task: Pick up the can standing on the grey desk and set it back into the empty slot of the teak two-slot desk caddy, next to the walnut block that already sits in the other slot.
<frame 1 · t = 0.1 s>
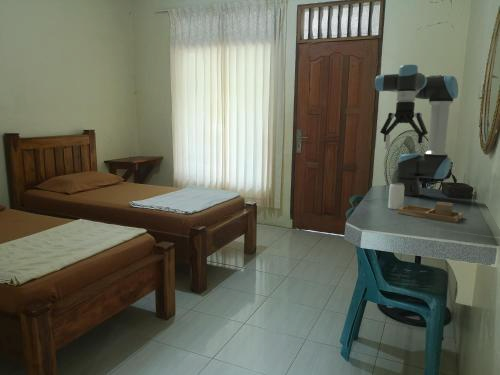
hand: (401, 150, 173), 28 cm above the table, fingers open, 13 cm apart
walnut block: (443, 217, 163), point 1 cm above the table, touching caddy
caddy: (429, 216, 167), on the table
can: (395, 209, 182), on the table
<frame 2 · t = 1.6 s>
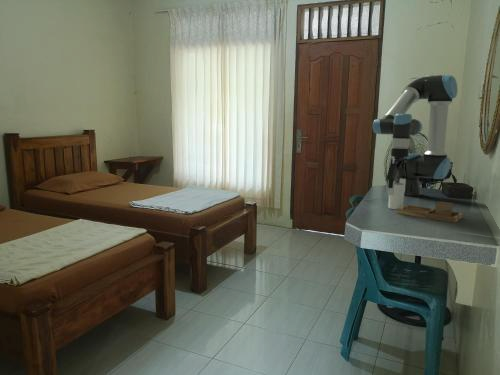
hand: (396, 193, 181), 7 cm above the table, fingers open, 13 cm apart
nothing on the table moved.
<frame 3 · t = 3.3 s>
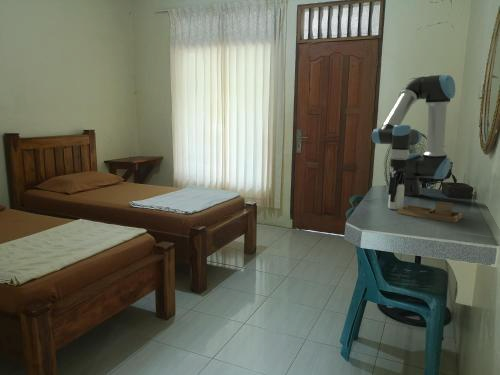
hand: (395, 207, 182), 0 cm above the table, fingers closed on can, 6 cm apart
can: (395, 208, 182), on the table, touching gripper
everything else where it was.
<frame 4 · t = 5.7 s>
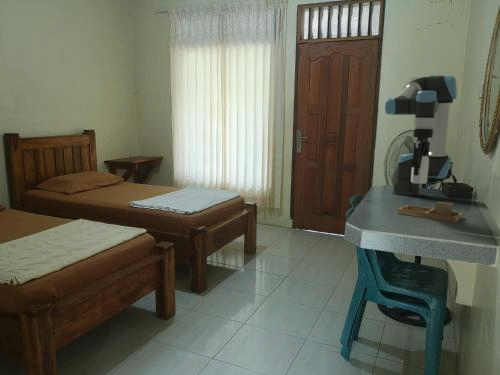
hand: (418, 181, 168), 15 cm above the table, fingers closed on can, 6 cm apart
can: (418, 183, 168), point 14 cm above the table, touching gripper
everything else where it was.
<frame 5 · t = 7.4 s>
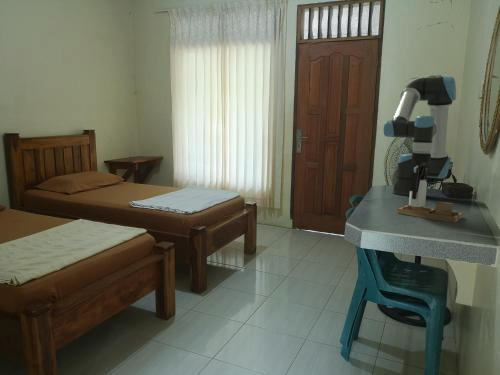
hand: (416, 205, 169), 4 cm above the table, fingers closed on can, 6 cm apart
can: (416, 206, 169), point 4 cm above the table, touching gripper
everything else where it was.
when the fingers open (3 cm above the table, at t = 8.4 s): can drops 2 cm, resting on caddy.
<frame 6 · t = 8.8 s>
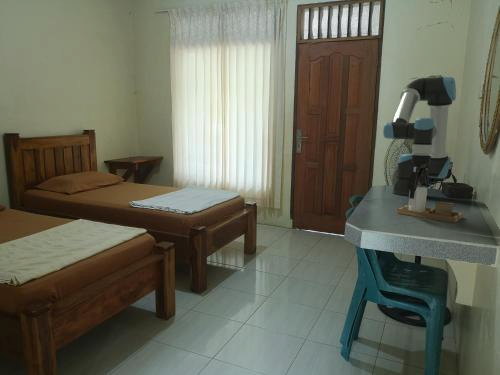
hand: (417, 203, 169), 5 cm above the table, fingers open, 12 cm apart
can: (415, 213, 170), point 1 cm above the table, touching caddy
everything else where it was.
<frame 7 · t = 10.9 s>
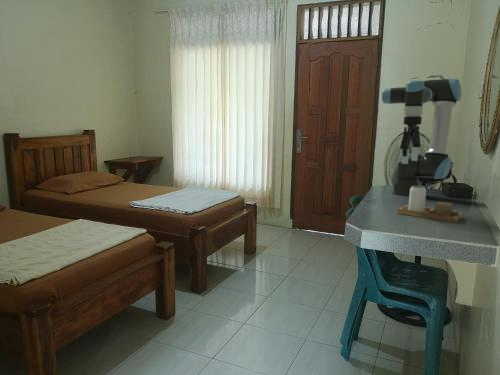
hand: (409, 162, 181), 22 cm above the table, fingers open, 13 cm apart
nothing on the table moved.
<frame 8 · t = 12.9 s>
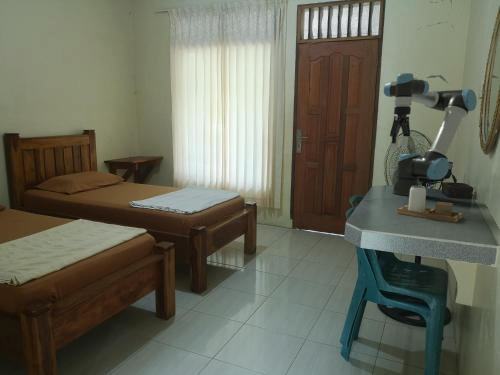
hand: (399, 149, 193), 27 cm above the table, fingers open, 13 cm apart
nothing on the table moved.
at the end: can inside the target area on the caddy (0.1 cm from its centre), point 0.4 cm above the caddy's base; can tilted 0°; the gripper is holding nothing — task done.
